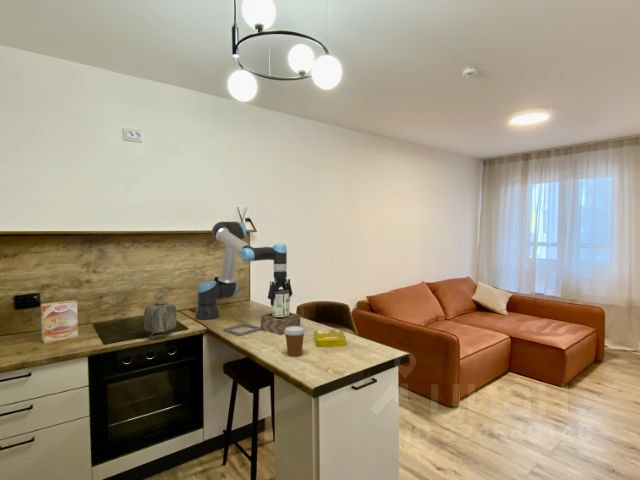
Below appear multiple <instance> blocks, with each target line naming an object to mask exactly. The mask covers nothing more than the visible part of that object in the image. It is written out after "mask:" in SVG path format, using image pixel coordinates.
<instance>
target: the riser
mask: <svg viewBox="0 0 640 480" xmlns="http://www.w3.org/2000/svg"><path fill="white" fill-rule="evenodd" d="M289 314H290V315H289V316H286V317H274V316H272V312H271V313H270V312H269V313H266V314H263V315H260V328H261V330H260V331H264V332H268V333H271V334H274V335H277V336H278V335H279V336H282V335H285V333H284V331H285V328H287V327H290V326H301V314H298V313H295V312H290V311H289Z"/></svg>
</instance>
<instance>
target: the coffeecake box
mask: <svg viewBox="0 0 640 480" xmlns="http://www.w3.org/2000/svg"><path fill="white" fill-rule="evenodd" d="M40 310H41V312H40V313H41V314H40V315H41V316H40V318H41V321H40V322H41V341H42V343H44V344H46V343H53V342H57V341H63V340H68V339H69V340H70V339H73V338H74V339H75V338H78V337H79V321H78V320H79V318H78V317H79V315H78V312H79V311H78V301H77V300H75V299H74V300H73V299H72V300H63V301H57V302H48V303H40Z"/></svg>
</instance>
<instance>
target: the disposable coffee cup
mask: <svg viewBox="0 0 640 480" xmlns="http://www.w3.org/2000/svg"><path fill="white" fill-rule="evenodd" d="M305 332H306V331H305V328H304V327H303V326H301V325H300V326H290V327H287V328H285V331H284V333H285V334H284V335H285V341H286V342H285V343H286V348H287V349H286V350H287V355H288V356H289V357H300V356H301V355H302V354H303V344H304V336H305V335H304V334H305Z"/></svg>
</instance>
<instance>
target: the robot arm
mask: <svg viewBox="0 0 640 480" xmlns="http://www.w3.org/2000/svg"><path fill="white" fill-rule="evenodd" d="M211 234H212V237H213V238H214V240H216V241H218V242H219V243H223V244H224V245H225V246H224V253H223V259H222V266H221V273H220V276H218V277H217V281H216V280H205V281H202V282H200V283H198V285H197V308H196V312H195V316H194V317H195V319H196V320H201V321H206V320H207V321H209V320H214V319H217V318H219V317H220V311H219V308H218V305H217V301H218V300H224V299H230V298H233V297H235V296H236V295H237V293H238V289H239V285H238V283H237V281H236V279H235V277H234V276H235V271H236V264H237V259H238V254H239V258H240V259H241V261H242V262H248V263H249V262H255V261H256V262H257V261H267V260H268V261H273V279H274V280H273V281H270V282H269V291H268V295H267V299H268V300H270V306H271V312H272V311H276V300H274V299H275V296H276V294H275V293H273V292H277V291H278V289H280V288H281V289H283V290H289V303H290V302H291V297H292V296H293V290H292V286H291V279H290V278H288V277H287V276H288V272H287V269H288V267H287V265H288V263H287V261H288V260H287V258H288V255H287V254H288V250H287V249H288V248H287V245H286V244H285V243H275V244H273V246H262V247H252V246H251V245H249V244H248V243H247V242H245V241H244V239H245V238H246V237H247V228H246V226H245V224H244V223H243V222H241V221H219V222H217V223H215V224H214V225H213V227H212V229H211Z"/></svg>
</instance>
